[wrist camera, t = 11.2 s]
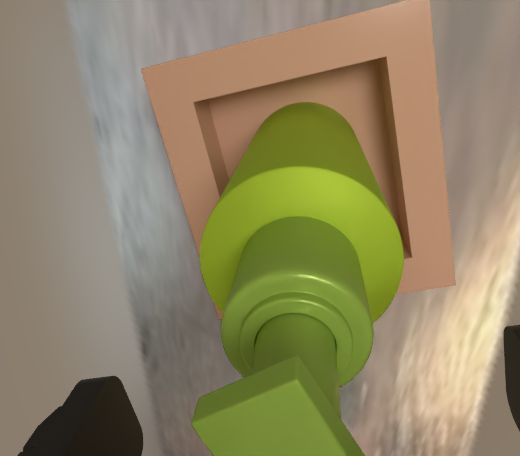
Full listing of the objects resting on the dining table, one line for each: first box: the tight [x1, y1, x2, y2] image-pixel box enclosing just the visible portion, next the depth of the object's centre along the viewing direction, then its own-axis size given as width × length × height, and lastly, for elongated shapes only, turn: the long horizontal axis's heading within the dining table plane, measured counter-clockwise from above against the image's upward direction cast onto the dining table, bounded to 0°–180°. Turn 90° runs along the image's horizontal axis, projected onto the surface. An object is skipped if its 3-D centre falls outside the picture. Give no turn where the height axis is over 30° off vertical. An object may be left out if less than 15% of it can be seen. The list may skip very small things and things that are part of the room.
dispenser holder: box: [141, 0, 456, 320], centre depth 24 cm, size 14×13×4 cm
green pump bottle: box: [191, 102, 404, 456], centre depth 16 cm, size 6×7×20 cm
